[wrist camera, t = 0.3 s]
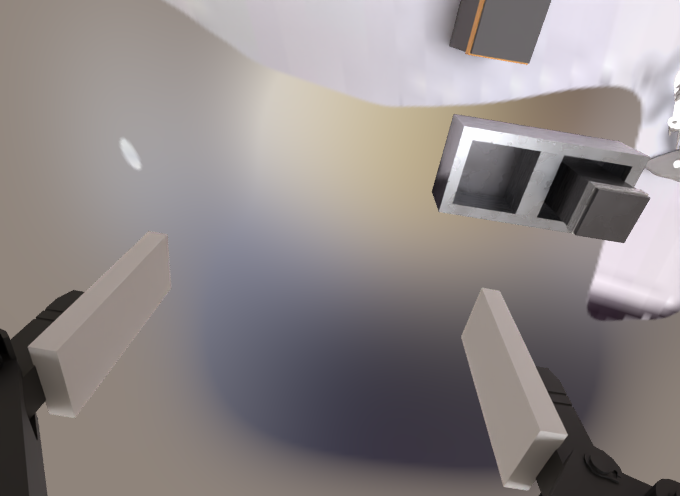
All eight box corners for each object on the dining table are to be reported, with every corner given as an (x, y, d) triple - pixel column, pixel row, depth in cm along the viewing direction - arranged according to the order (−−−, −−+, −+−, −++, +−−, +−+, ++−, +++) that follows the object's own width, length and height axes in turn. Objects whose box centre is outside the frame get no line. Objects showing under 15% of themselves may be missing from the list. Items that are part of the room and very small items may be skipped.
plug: (462, -9, 33) (490, -18, 25) (511, -1, 33) (555, -7, 25) (447, 47, 35) (469, 55, 27) (494, 55, 35) (529, 65, 27)
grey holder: (453, 113, 38) (478, 142, 29) (618, 141, 38) (691, 177, 29) (431, 191, 42) (447, 237, 33) (581, 216, 42) (635, 267, 33)
